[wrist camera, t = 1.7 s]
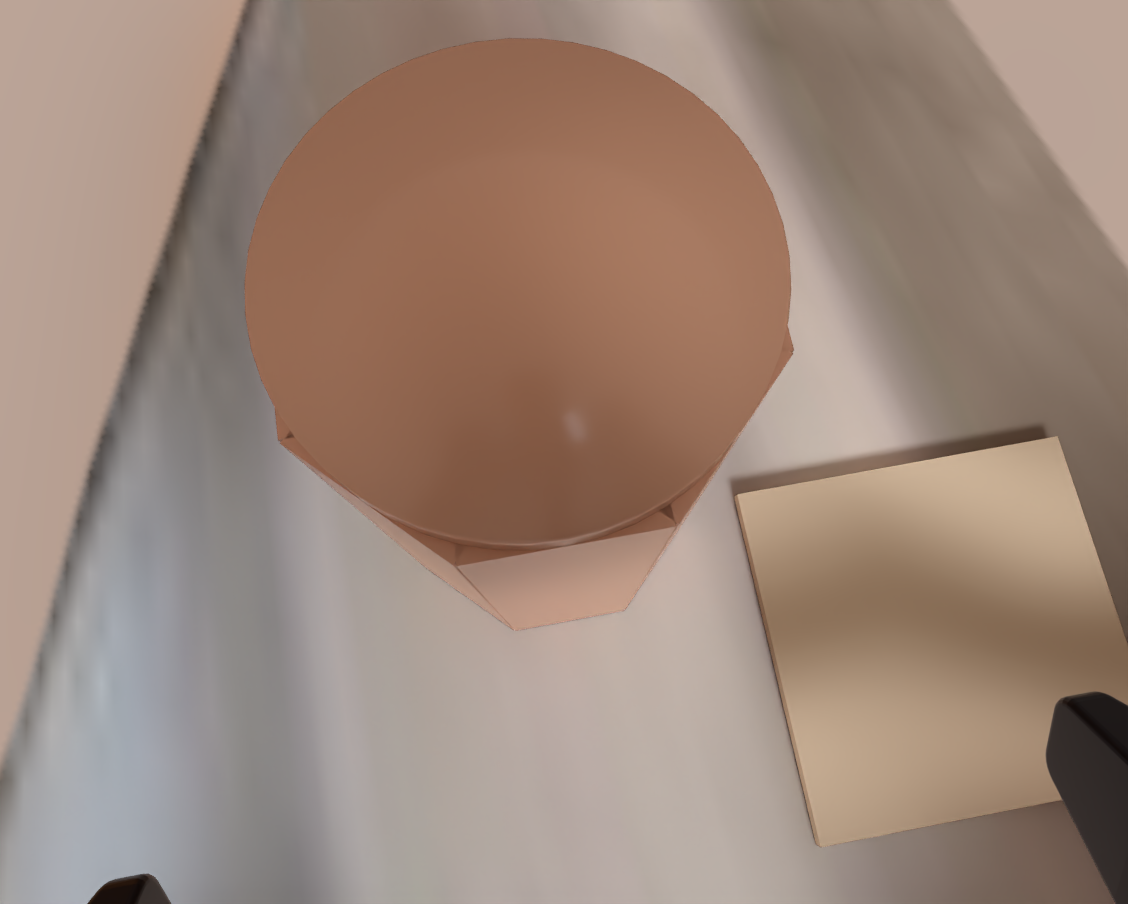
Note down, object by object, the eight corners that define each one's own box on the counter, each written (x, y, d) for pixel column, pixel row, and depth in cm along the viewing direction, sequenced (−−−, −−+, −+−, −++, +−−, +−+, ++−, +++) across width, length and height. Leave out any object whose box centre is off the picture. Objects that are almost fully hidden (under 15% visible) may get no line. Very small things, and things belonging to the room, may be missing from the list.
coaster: (1161, 776, 20) (1173, 777, 20) (815, 844, 20) (820, 847, 20) (1049, 440, 22) (1057, 436, 22) (734, 497, 22) (736, 493, 22)
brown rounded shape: (701, 596, 21) (853, 482, 10) (436, 645, 21) (271, 588, 10) (647, 349, 23) (722, 1, 12) (400, 391, 23) (222, 82, 11)
